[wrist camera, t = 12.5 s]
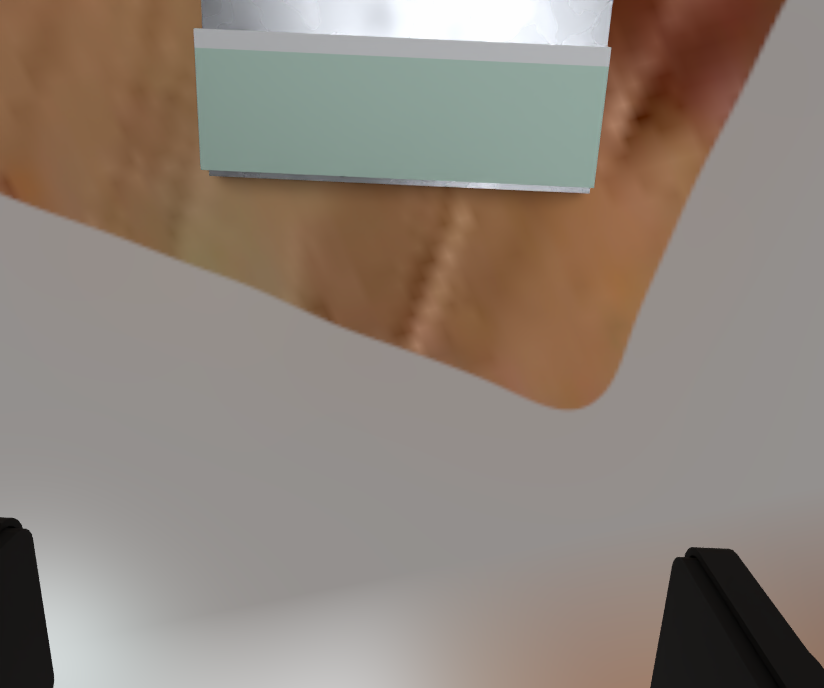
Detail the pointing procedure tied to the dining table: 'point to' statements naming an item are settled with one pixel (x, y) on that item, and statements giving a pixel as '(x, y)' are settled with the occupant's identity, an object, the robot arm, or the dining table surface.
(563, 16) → the vise base
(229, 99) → the block
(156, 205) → the dining table surface
